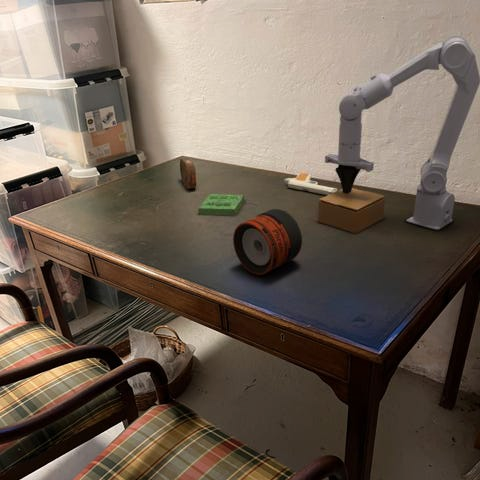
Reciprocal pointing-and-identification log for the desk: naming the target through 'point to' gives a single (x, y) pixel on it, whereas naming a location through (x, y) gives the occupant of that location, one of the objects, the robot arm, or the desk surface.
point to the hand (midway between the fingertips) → (347, 192)
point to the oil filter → (267, 241)
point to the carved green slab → (221, 204)
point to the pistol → (308, 185)
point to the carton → (353, 212)
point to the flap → (340, 196)
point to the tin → (188, 173)
